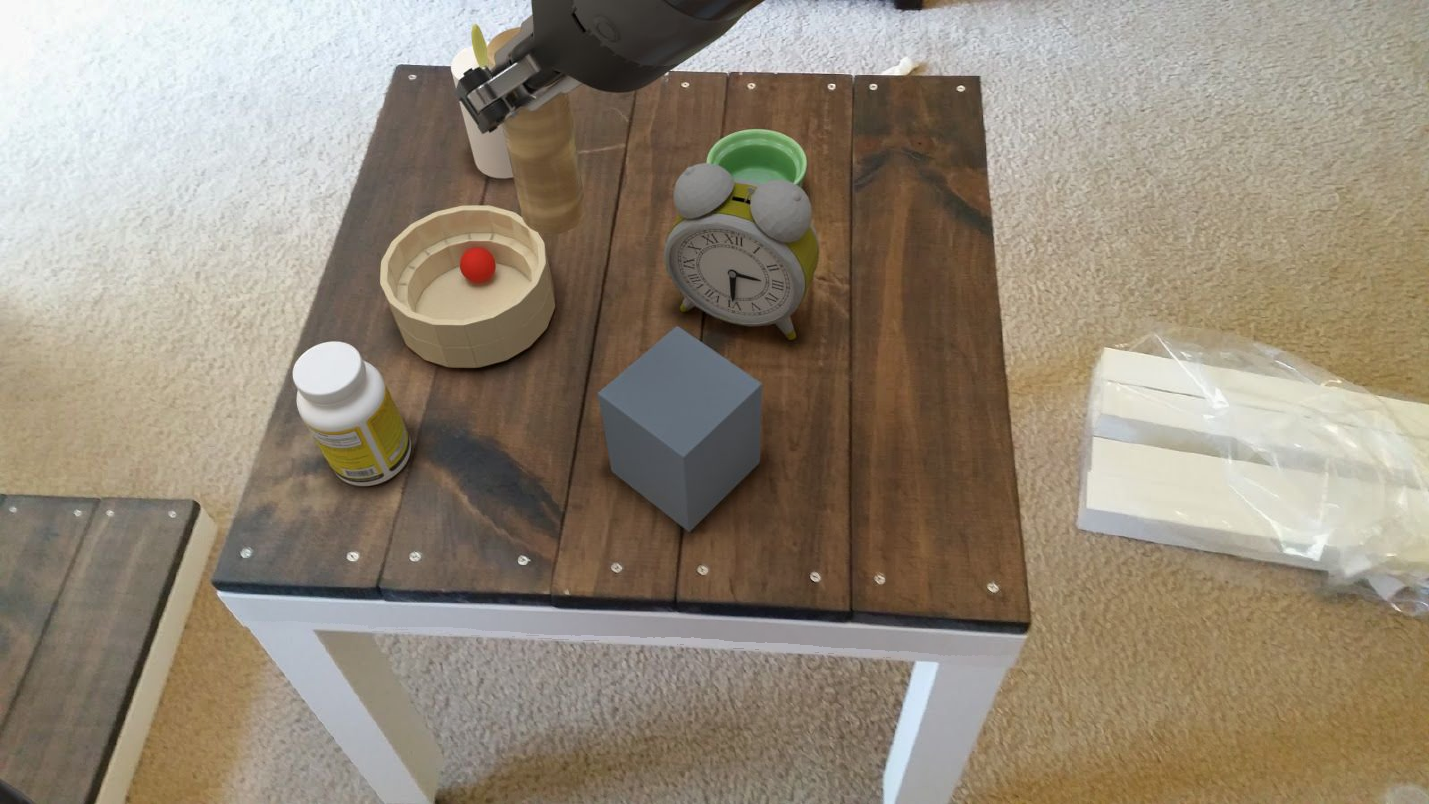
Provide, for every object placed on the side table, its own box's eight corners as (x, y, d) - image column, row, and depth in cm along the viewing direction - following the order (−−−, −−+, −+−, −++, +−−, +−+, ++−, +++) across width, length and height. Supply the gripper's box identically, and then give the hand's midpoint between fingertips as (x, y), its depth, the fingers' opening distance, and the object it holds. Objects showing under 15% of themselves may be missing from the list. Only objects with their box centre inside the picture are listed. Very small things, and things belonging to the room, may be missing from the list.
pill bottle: (389, 409, 83) (347, 317, 74) (427, 459, 80) (388, 371, 71) (317, 450, 81) (265, 361, 72) (354, 503, 78) (304, 418, 69)
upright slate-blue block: (689, 532, 76) (683, 457, 68) (611, 471, 79) (597, 393, 71) (760, 462, 80) (762, 383, 72) (682, 407, 83) (676, 324, 75)
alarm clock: (665, 320, 88) (654, 185, 76) (694, 264, 92) (687, 127, 80) (798, 356, 86) (808, 222, 74) (821, 297, 90) (835, 160, 77)
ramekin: (758, 152, 101) (759, 115, 97) (825, 200, 96) (828, 163, 93) (687, 195, 97) (685, 158, 94) (753, 247, 93) (753, 211, 90)
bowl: (470, 400, 84) (453, 352, 79) (367, 317, 89) (346, 268, 84) (588, 305, 89) (580, 256, 85) (484, 232, 95) (471, 182, 90)
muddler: (552, 244, 64) (520, 80, 55) (509, 214, 66) (470, 49, 56) (598, 210, 66) (575, 45, 56) (555, 181, 68) (526, 16, 58)
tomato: (479, 295, 89) (472, 271, 87) (456, 278, 91) (448, 254, 88) (505, 275, 91) (499, 251, 88) (482, 259, 92) (476, 234, 90)
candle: (541, 131, 103) (515, -7, 91) (539, 176, 99) (512, 38, 87) (477, 135, 103) (442, -3, 91) (472, 180, 99) (436, 42, 87)
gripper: (710, -164, 48) (563, -18, 63) (470, -31, 42) (369, 96, 56) (795, -14, 50) (633, 92, 65) (578, 133, 44) (454, 214, 58)
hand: (511, 93), depth 60 cm, fingers closed on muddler, 4 cm apart
